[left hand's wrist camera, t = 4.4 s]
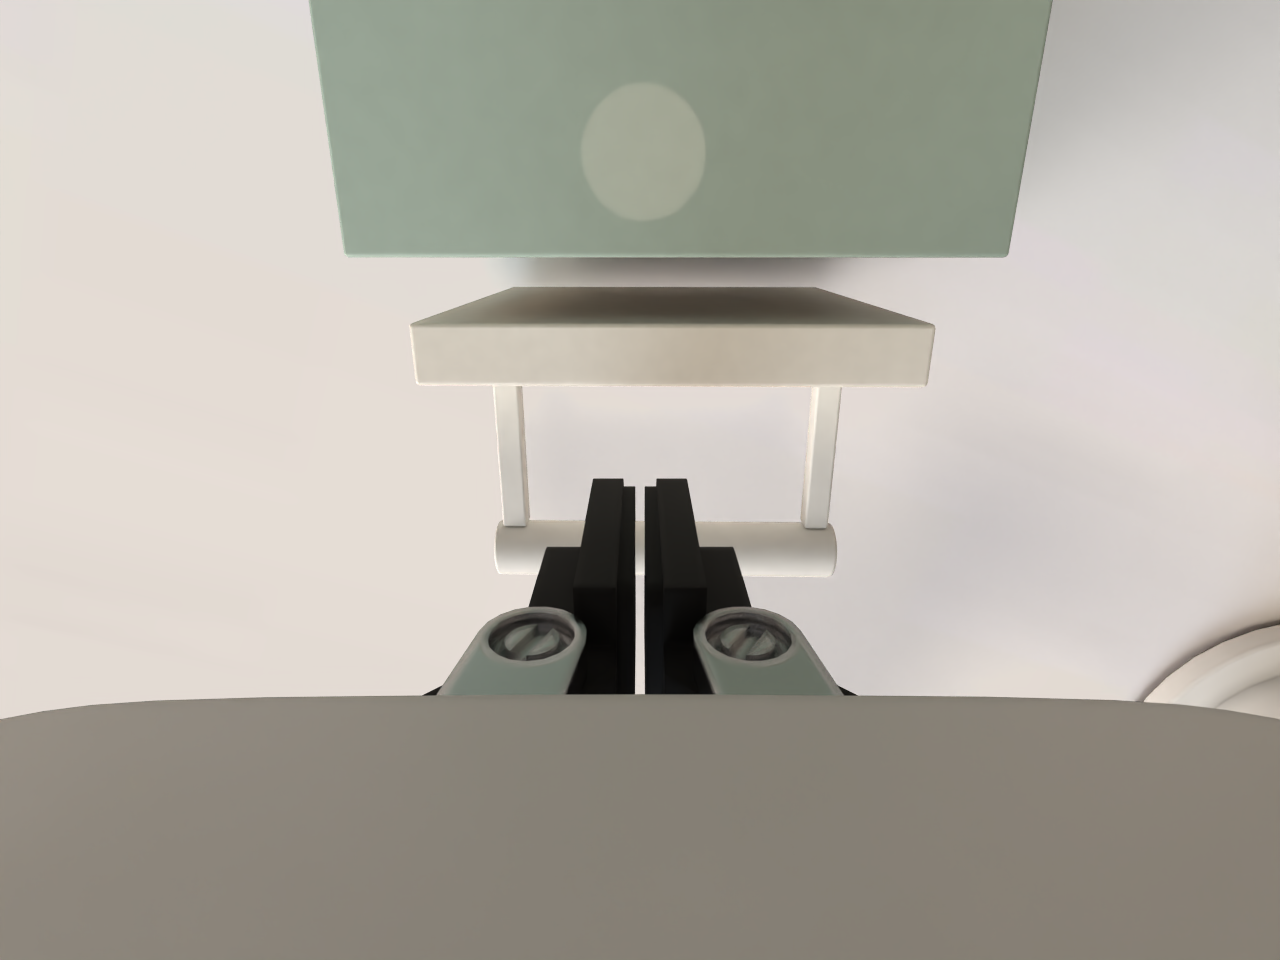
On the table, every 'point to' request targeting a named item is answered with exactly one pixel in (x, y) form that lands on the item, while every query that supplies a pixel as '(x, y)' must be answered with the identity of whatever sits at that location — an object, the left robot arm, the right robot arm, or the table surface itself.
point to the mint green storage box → (678, 126)
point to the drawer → (673, 385)
